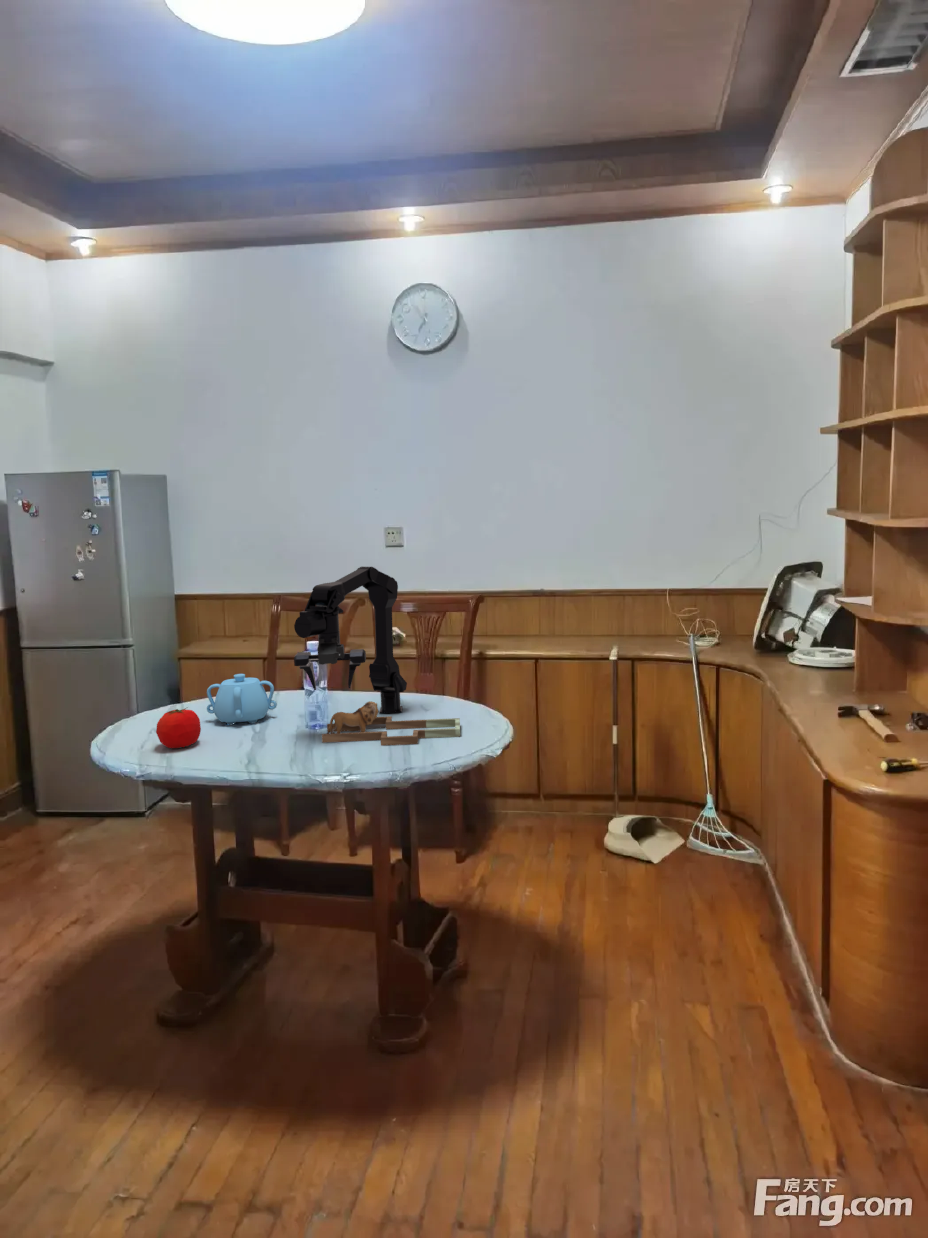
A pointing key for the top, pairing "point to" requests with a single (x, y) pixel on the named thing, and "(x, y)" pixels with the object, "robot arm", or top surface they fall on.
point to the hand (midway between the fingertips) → (332, 689)
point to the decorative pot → (241, 700)
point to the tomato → (178, 728)
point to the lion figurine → (355, 718)
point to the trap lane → (389, 724)
